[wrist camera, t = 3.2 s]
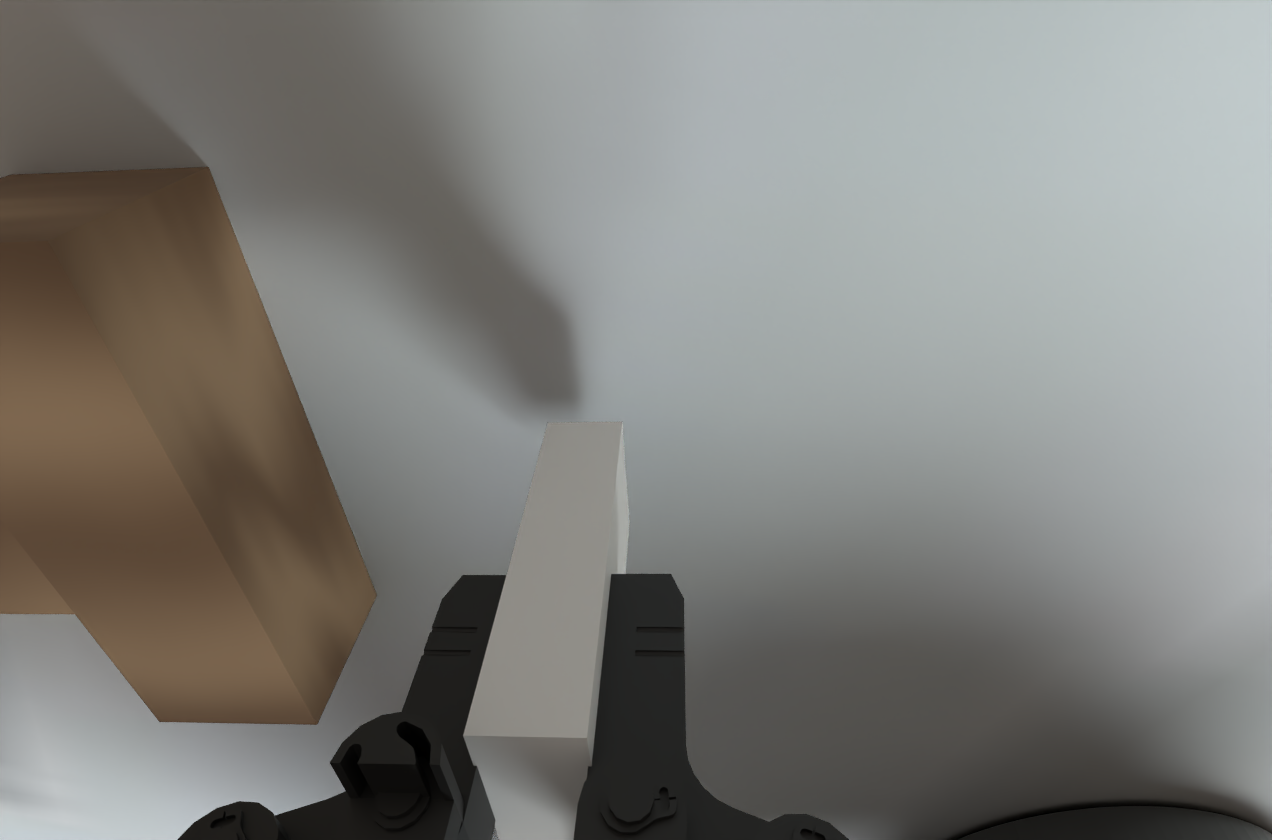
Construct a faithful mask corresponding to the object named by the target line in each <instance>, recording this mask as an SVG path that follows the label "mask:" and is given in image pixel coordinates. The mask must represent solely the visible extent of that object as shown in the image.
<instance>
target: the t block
mask: <svg viewBox="0 0 1272 840" xmlns="http://www.w3.org/2000/svg"><path fill="white" fill-rule="evenodd" d="M376 596H377V594H376V592H375V589H374V587H373V584H372V582H371V579H370V576H369V574H368V571H367V569H366V566H365V564H364V561H363V559H362V556H361V554H360V551H359V549H358V546H357V543H356V541H355V538H354V536H353V533H352V531H351V528H350V526H349V523H348V521H347V518H346V515H345V513H344V510H343V508H342V505H341V503H340V500H339V498H338V495H337V493H336V490H335V487H334V485H333V482H332V480H331V477H330V475H329V472H328V470H327V467H326V465H325V462H324V459H323V457H322V454H321V452H320V449H319V447H318V444H317V442H316V439H315V437H314V434H313V431H312V429H311V426H310V424H309V421H308V419H307V416H306V414H305V411H304V409H303V406H302V404H301V401H300V398H299V396H298V393H297V391H296V388H295V386H294V383H293V381H292V378H291V376H290V373H289V370H288V368H287V365H286V363H285V360H284V358H283V355H282V353H281V350H280V348H279V345H278V342H277V340H276V337H275V335H274V332H273V330H272V327H271V325H270V322H269V320H268V317H267V314H266V312H265V309H264V307H263V304H262V302H261V299H260V297H259V294H258V292H257V289H256V286H255V284H254V281H253V279H252V276H251V274H250V271H249V269H248V266H247V264H246V261H245V259H244V256H243V253H242V251H241V248H240V246H239V243H238V241H237V238H236V236H235V233H234V231H233V228H232V225H231V223H230V220H229V218H228V215H227V213H226V210H225V208H224V205H223V203H222V200H221V197H220V195H219V192H218V190H217V187H216V185H215V182H214V180H213V177H212V175H211V172H210V169H209V167H193V168H168V169H143V170H118V171H93V172H67V173H42V174H17V175H9V176H6V177H3V178H0V614H75V615H76V616H77V618H78V619H79V620H80V621H81V623H82V624H83V625H84V626H85V628H86V629H87V630H88V632H89V633H90V634H91V635H92V637H93V638H94V639H95V640H96V642H97V643H98V644H99V646H100V647H101V648H102V649H103V651H104V652H105V653H106V654H107V656H108V657H109V658H110V659H111V661H112V662H113V663H114V665H115V666H116V667H117V668H118V670H119V671H120V672H121V673H122V675H123V676H124V677H125V679H126V680H127V681H128V682H129V684H130V685H131V686H132V687H133V689H134V690H135V691H136V693H137V694H138V695H139V696H140V698H141V699H142V700H143V701H144V703H145V704H146V705H147V707H148V708H149V709H150V710H151V712H152V713H153V714H154V715H155V717H156V718H157V719H158V721H159V722H197V723H254V724H310V725H317V724H318V722H319V719H320V717H321V715H322V713H323V711H324V709H325V706H326V704H327V702H328V700H329V698H330V696H331V694H332V691H333V689H334V687H335V685H336V683H337V681H338V678H339V676H340V674H341V672H342V670H343V668H344V665H345V663H346V661H347V659H348V657H349V655H350V653H351V650H352V648H353V646H354V644H355V642H356V640H357V637H358V635H359V633H360V631H361V629H362V627H363V624H364V622H365V620H366V618H367V616H368V614H369V612H370V609H371V607H372V605H373V603H374V601H375V599H376Z"/></svg>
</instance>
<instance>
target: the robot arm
mask: <svg viewBox="0 0 1272 840" xmlns="http://www.w3.org/2000/svg"><path fill="white" fill-rule="evenodd" d="M629 525H630V520H629V507H628V493H627V479H626V465H625V452H624V438H623V424H622V422H556V423H547V427H546V431H545V434H544V438H543V442H542V445H541V449H540V453H539V456H538V460H537V464H536V468H535V471H534V475H533V479H532V482H531V486H530V490H529V494H528V497H527V501H526V505H525V508H524V512H523V516H522V519H521V523H520V527H519V531H518V534H517V538H516V542H515V545H514V549H513V553H512V556H511V560H510V564H509V568H508V571H507V575H463V576H462V577H461V578H460V579H459V580H458V581H457V583H456V584H455V585H454V586H453V587H452V588H451V590H450V591H449V592H448V593H447V594H446V595H445V597H444V598H443V599H442V601H441V604H440V607H439V609H438V612H437V615H436V618H435V621H434V623H433V626H432V632H430V635H429V637H428V640H427V643H426V646H425V648H424V655H423V656H422V657H421V660H420V662H419V665H418V668H417V671H416V674H415V676H414V679H413V682H412V685H411V687H410V690H409V693H408V696H407V699H406V701H405V704H404V707H403V710H402V712H399V713H392V714H386V715H381V716H379V717H377V718H375V719H373V720H371V721H369V722H367V723H365V724H363V725H361V726H360V727H359V728H358V729H357V730H356V731H355V732H353V733H352V734H351V735H350V736H349V737H348V738H347V739H346V740H345V741H344V742H343V743H342V744H341V746H340V747H339V749H338V751H337V752H336V754H335V755H334V757H333V759H332V760H331V762H330V764H331V766H332V767H333V769H334V771H335V773H336V774H337V776H338V778H339V780H340V781H341V783H342V785H343V787H344V788H345V790H346V791H345V792H343V793H341V794H339V795H336V796H334V797H332V798H329V799H326V800H323V801H320V802H317V803H314V804H310V805H307V806H304V807H301V808H298V809H294V810H291V811H288V812H285V813H282V814H278V815H274V814H273V813H272V812H271V811H270V810H268V809H267V808H265V807H264V806H263V805H261V804H260V803H255V802H241V801H239V802H235V803H232V804H229V805H226V806H222V807H219V808H216V809H215V810H213V811H212V812H210V813H209V814H207V815H205V816H204V817H202V818H201V819H199V820H198V821H196V822H194V823H193V824H192V825H191V826H190V827H189V828H188V829H187V830H186V831H185V832H184V833H183V834H182V836H181V837H180V838H179V839H178V840H492V835H493V830H494V826H495V829H496V832H497V835H498V838H499V840H849V839H848V838H846V837H845V836H844V835H843V834H842V833H840V832H839V831H838V830H837V829H836V828H835V827H833V826H832V825H831V824H830V823H828V822H826V821H823V820H821V819H818V818H815V817H813V816H810V815H807V814H787V815H783V816H781V817H779V818H776V819H774V820H772V821H770V822H767V821H765V820H762V819H760V818H757V817H755V816H752V815H750V814H747V813H744V812H742V811H739V810H737V809H734V808H732V807H730V806H728V805H726V804H724V803H722V802H721V801H719V800H717V799H716V798H714V797H713V796H712V795H711V794H710V793H709V792H708V791H706V790H705V789H704V788H703V786H702V785H701V784H700V782H699V781H698V779H697V778H696V777H695V775H694V773H693V771H692V768H691V766H690V764H689V761H688V757H687V750H686V729H685V655H684V598H683V596H682V594H681V592H680V591H679V589H678V587H677V585H676V583H675V581H674V579H673V577H672V575H671V574H626V563H627V550H628V538H629ZM958 840H1272V834H1271V833H1270V832H1268V831H1266V830H1264V829H1262V828H1260V827H1258V826H1256V825H1253V824H1251V823H1248V822H1245V821H1243V820H1240V819H1236V818H1233V817H1229V816H1225V815H1221V814H1216V813H1212V812H1206V811H1200V810H1192V809H1184V808H1173V807H1156V806H1119V807H1101V808H1089V809H1079V810H1071V811H1063V812H1057V813H1051V814H1045V815H1040V816H1035V817H1030V818H1025V819H1021V820H1017V821H1012V822H1009V823H1005V824H1001V825H998V826H994V827H991V828H988V829H985V830H982V831H979V832H976V833H973V834H971V835H968V836H966V837H963V838H961V839H958Z"/></svg>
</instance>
